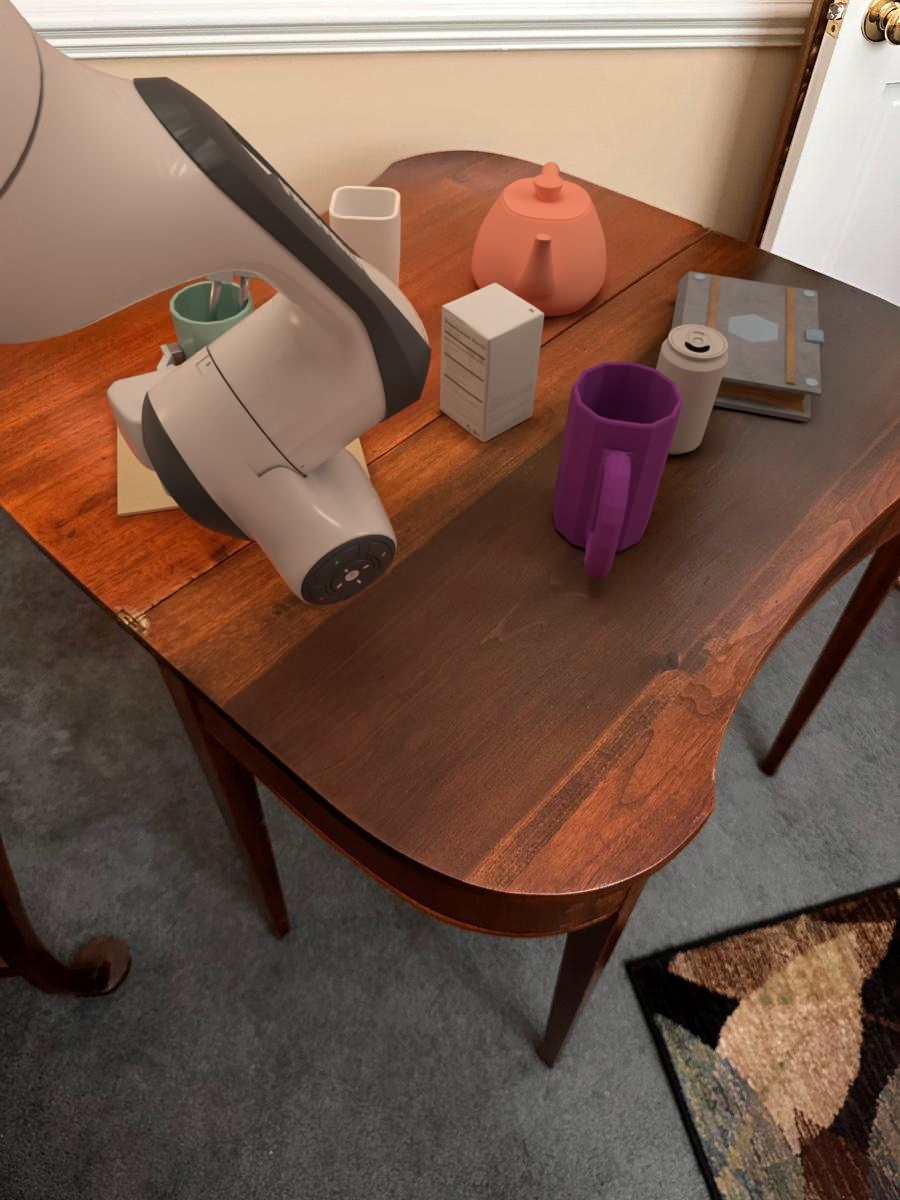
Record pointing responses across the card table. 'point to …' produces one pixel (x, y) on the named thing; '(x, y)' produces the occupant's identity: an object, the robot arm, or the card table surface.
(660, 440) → the mug
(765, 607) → the card table surface
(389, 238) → the cup
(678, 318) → the book
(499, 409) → the white packaging box
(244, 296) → the metal mallet
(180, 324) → the tumbler
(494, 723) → the card table surface
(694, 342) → the beverage can
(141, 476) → the mat
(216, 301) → the square head hammer
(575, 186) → the teapot
